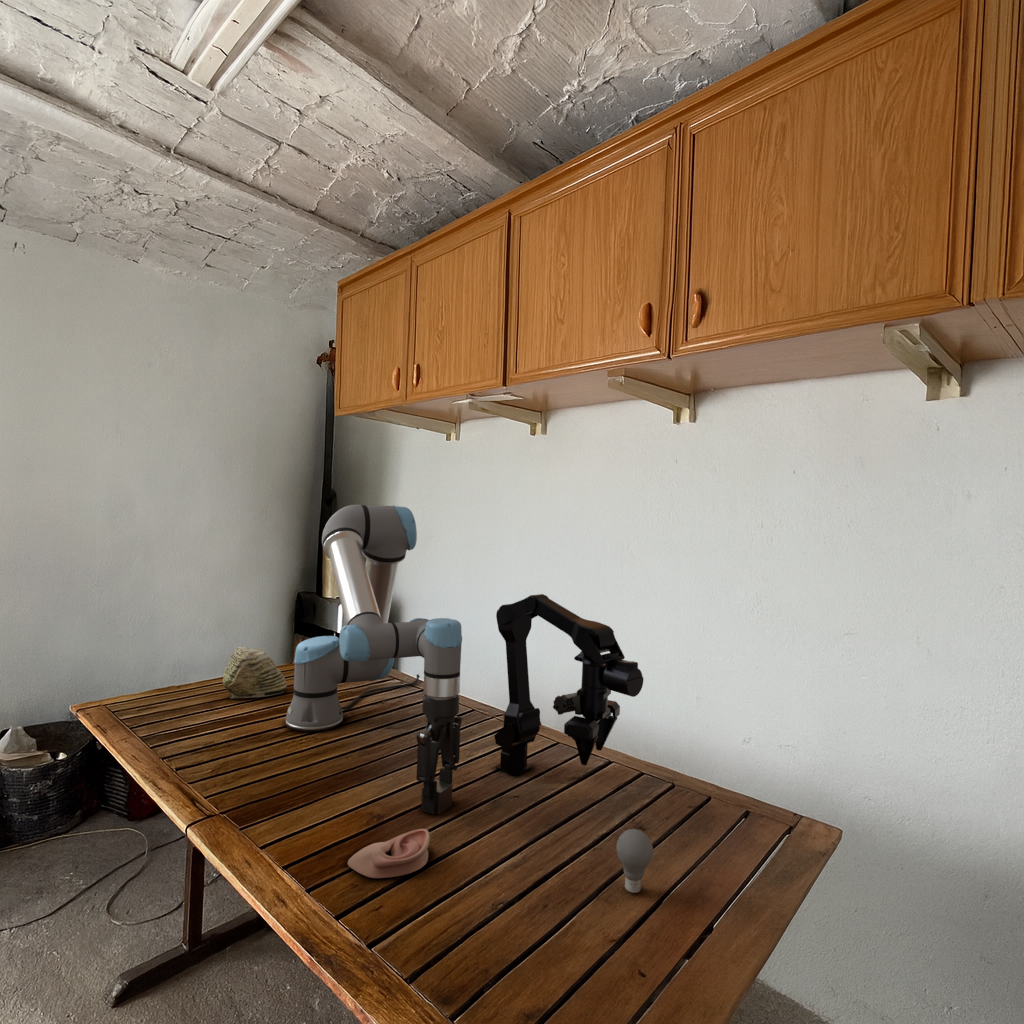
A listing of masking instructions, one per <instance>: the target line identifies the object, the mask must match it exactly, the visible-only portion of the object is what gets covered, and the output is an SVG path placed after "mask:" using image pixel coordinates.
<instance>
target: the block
mask: <svg viewBox="0 0 1024 1024" xmlns="http://www.w3.org/2000/svg"><path fill="white" fill-rule="evenodd" d="M435 781H437V799H436V813H435V814H437V815H441V814H442V813H444V812H445V811H446V810H448V809H449V808H450V807H452V803H453V800H452V799H453V783H452V784H449V783H446V782H443V781H439V779H436V778H435ZM420 802H421V804H420V809H421V810H423V786H421V801H420Z"/></svg>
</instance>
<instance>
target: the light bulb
mask: <svg viewBox="0 0 1024 1024" xmlns="http://www.w3.org/2000/svg"><path fill="white" fill-rule="evenodd" d="M615 849H616V854H617V857H618V859H619V861H620V863H621V865H622V867H623V873H624V874H623V875H624V876H625V878H624V888H625V890H627V891H628V892H630V893H634V894H635V893H639V892H640V891H641V889H642V887H641V886H642V879H643V877H644V875H645V871H646V868H647V867H648V866H649V864H650V863H651V861H652V859H653V855H654V847H653V843H652V841H651V838H649V836H648V835H647V834H646V833H645V832H643V831H642V830H641V829H636V828H629V829H627V830H625V831H623V832H622V833H621V834H620V835H619V837H618V839H617V841H616V847H615Z"/></svg>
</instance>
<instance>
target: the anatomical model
mask: <svg viewBox="0 0 1024 1024" xmlns="http://www.w3.org/2000/svg"><path fill="white" fill-rule="evenodd" d="M430 838H431V836H430V831H429V830H428V829H426V828H419V829H418V828H417V829H414V830H411V831H407V832H404V833H402V834H400V835H397V836H395V837H393V838H391V839H389V840H385V841H379V842H373V843H372V844H369V845H367V846H365V847H363V848H361V849H360V850H358V851H357V852H356V853H354V854H353V855H352V856H351V857H350V858H349V859H348V861H347V866H348V867H349V868H350V869H352V870H353V871H355V872H356V873H358V874H360V875H362V876H364V877H366V878H370V879H386V878H394V877H395V878H396V877H401V876H405V875H409V874H411V873H414V872H416V871H418V870H420V869H422V868H423V867H425V866H426V864H427V863H428V861H429V850H428V848H429V846H430V840H431V839H430Z"/></svg>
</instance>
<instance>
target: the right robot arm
mask: <svg viewBox="0 0 1024 1024" xmlns="http://www.w3.org/2000/svg"><path fill="white" fill-rule="evenodd" d="M495 617H496V623H497V628H498V632H499V634H500V635H501V637H502V638H503V640H504V642H505V654H506V668H507V669H506V671H507V683H508V685H507V686H508V699H509V700H508V704H507V707H506V710H505V711H504V713H503V714H504V715H503V726H502V727H501V728H500V729H499V730H498V731H497V732H496V733H494V736H493V737H494V742H495V745H497V746H499V747H501V749H500V750H501V751H500V760H499V764H497V765H495V769H496V770H499V771H502V772H504V773H507V774H508V775H511V776H514V777H517V776H519V775H521V774H523V773H525V772H527V771H529V770H531V769H532V768H533V765H531V764H528V750H529V749H528V748H529V746H528V744H529V743H533V742H534V741H535V740H536V736H537V735H538V733H540V728H541V726H542V722H541V710H540V708H539V707H535V706H534V704H533V703H532V701H531V692H530V679H529V664H528V662H529V661H528V650H527V649H528V647H527V639H528V636H529V634H530V632H531V629H532V623H533V622H532V621H533V619H534V618H536V617H540V618H541V619H542V620H544V621H545V622H547V623H548V624H550V625H552V626H553V627H555V628H557V629H558V630H560V631H562V632H563V633H565V634H566V635H567V636H569V637H570V638H571V640H572V642H573V644H574V646H576V647H577V648H578V650H580V653H578V654H576V656H574V658H573V659H574V661H577V662H580V663H582V664H581V665H582V667H581V687H580V688H578V689H577V691H576V692H572V693H567V694H562V695H557V696H556V697H554V700H553V706H552V708H553V710H555V711H556V712H557V715H559V716H561V715H563V714H565V713H566V714H567V713H572V712H574V716H572V717H571V718H570V719H568V721H566V722H565V723H564V725H563V734H565V735H567V737H569V738H572V740H573V741H574V743H575V745H576V749H577V753H578V757H579V761H580V764H581V766H587V765H588V764H589V760H590V758H591V755H592V753H593V750H594V748H595V750H596V751H600V752H601V751H602V750H603V748H604V746H605V744H606V742H607V739H608V738H609V735H610V733H611V732H612V730H613V728H614V726H615V724H616V722H617V720H618V717H619V716H620V714H621V706H620V704H619V703H618V701H615V700H610V699H609V696H610V695H611V694H612V692H615V693H619V694H622V695H625V696H629V697H633V698H635V697H637V696H638V695H639V694H640V692H641V691H642V688H643V685H644V676H643V673H642V671H641V669H639V662H637V661H633V660H626V659H625V655H624V653H623V650H622V649H621V647H620V644H619V642H618V641H617V639H616V636H615V631H614V630H613V629H612V627H611V626H610V625H607V624H605V623H601V622H599V621H596V620H595V621H594V620H589V619H586V618H583V617H581V616H579V615H578V614H575V613H574V612H572V611H570V610H569V609H568V608H566V607H565V606H563V605H560V604H559V603H558V602H556V601H554V600H553V599H551V598H549V597H548V595H546V594H543V593H541V594H540V593H539V594H531V595H529V596H527V597H525V598H523V599H520V600H518V601H515V602H513V603H506V604H501V605H500V606H499V608H498V609H497V610H496V614H495ZM607 652H608V653H607Z"/></svg>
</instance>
